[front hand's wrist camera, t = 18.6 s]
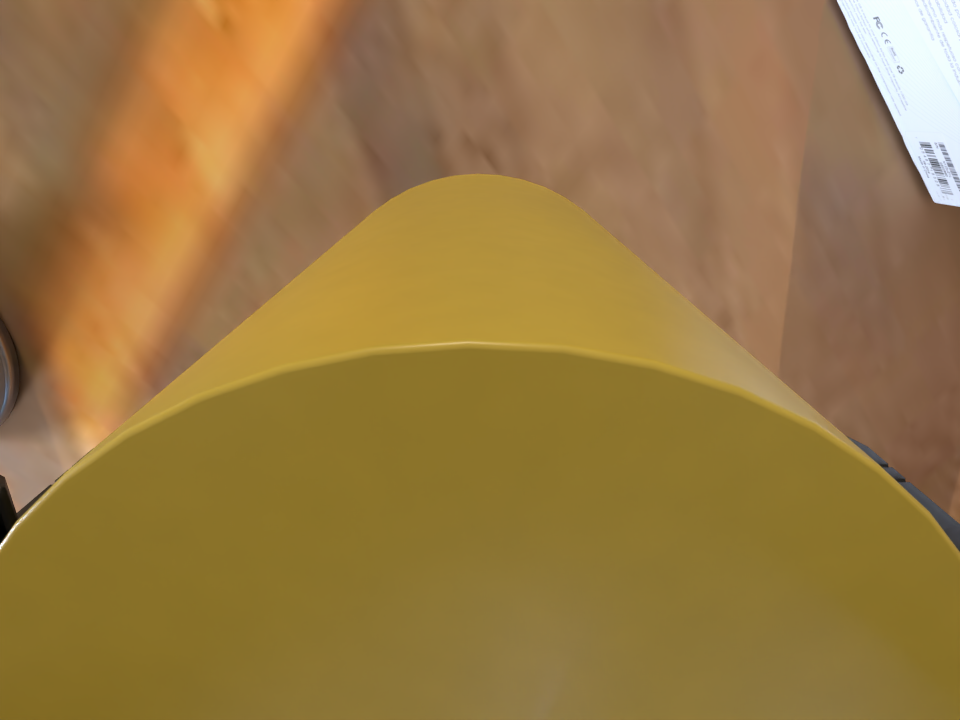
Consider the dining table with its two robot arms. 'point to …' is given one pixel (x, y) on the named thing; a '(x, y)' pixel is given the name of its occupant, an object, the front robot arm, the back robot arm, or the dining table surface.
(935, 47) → the hard drive box
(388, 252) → the canister
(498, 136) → the dining table surface
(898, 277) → the dining table surface
